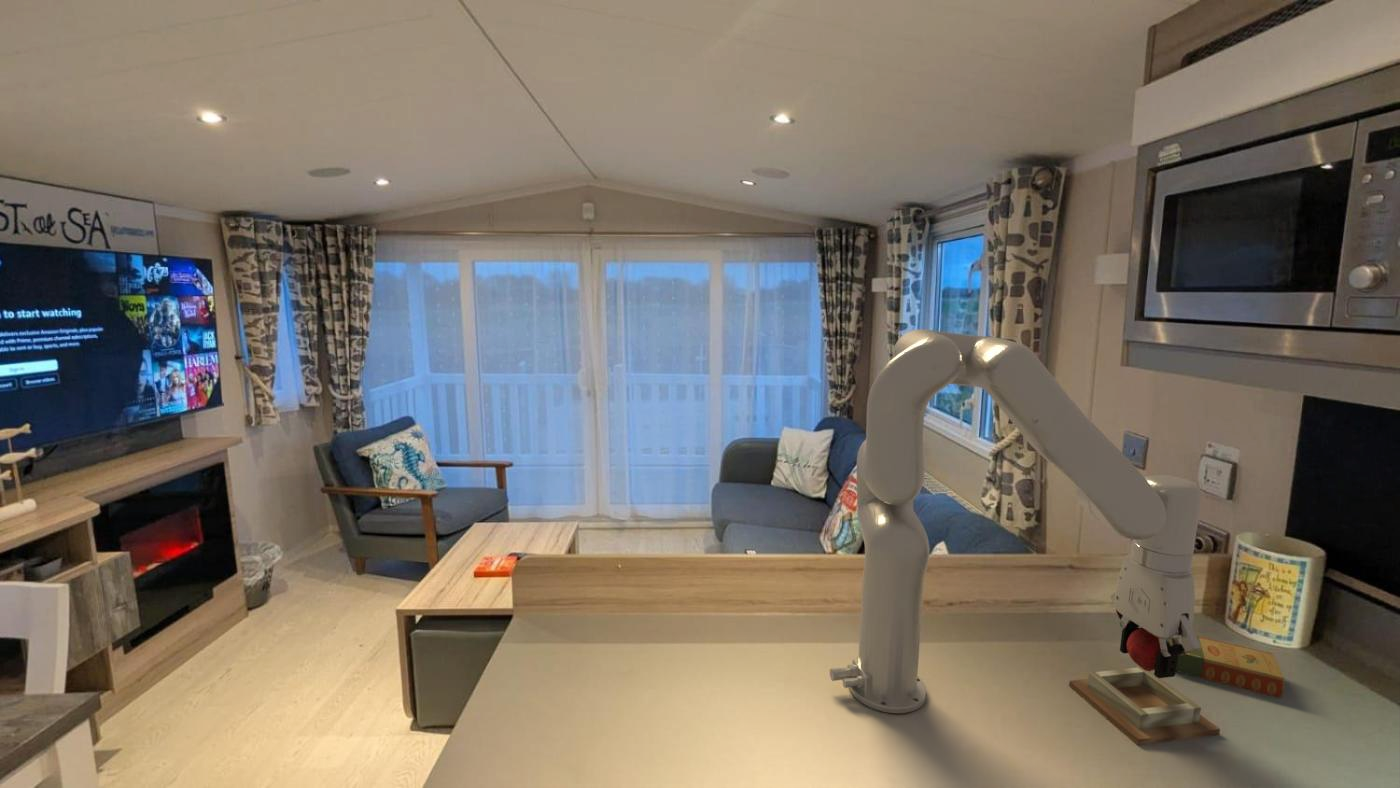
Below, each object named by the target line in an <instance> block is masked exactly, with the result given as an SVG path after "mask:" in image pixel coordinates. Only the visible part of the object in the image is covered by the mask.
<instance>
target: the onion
mask: <svg viewBox="0 0 1400 788" xmlns="http://www.w3.org/2000/svg"><path fill="white" fill-rule="evenodd" d="M1138 628H1139V629H1137V630H1135V631H1133V632H1132V633H1131V635H1130V636H1129V638H1128V640H1127V650H1128V653H1127V654H1128V655H1129V656H1130V658H1131V660H1132V661H1133V662H1134V663H1135V664H1136V665H1137V666H1139V667H1141V668H1143V669H1144V670H1146V671H1150V672H1152V671H1155V664H1156V656H1157V653H1159V652H1161V648H1160V642H1159V638H1158V637H1156V636H1154V635H1153V634H1151V633H1149V632H1148V631H1146V630H1145V629H1143V628H1142V627H1138ZM1169 645H1170V646H1171V644H1170V642H1169Z"/></svg>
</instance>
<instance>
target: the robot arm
mask: <svg viewBox="0 0 1400 788" xmlns="http://www.w3.org/2000/svg"><path fill="white" fill-rule="evenodd" d="M950 385H956V386H967V387H977V388H981V389H982V390H984V391H985V392H986V393H987V394H988V395H989V396H990V398H991V399H992V401H994V402H995V404H996V405H997V406H998V408H999V409H1000V410H1001V411H1002V412H1003V413H1004V414H1005V415H1006V417H1007V418H1008V419H1009V421H1010V422H1012V424H1013V425H1014V426H1015V428H1016V429H1017V430H1018V432H1019V433H1020V434H1021V435H1022V436H1023V438H1024V439H1026V442H1028V444H1029V445H1030V446H1031V447H1032V448H1033V449H1034V450H1035V451H1036V452H1037V453H1038V454H1040V456H1041V457H1042V458H1043V459H1045V460H1046V461H1047V462H1048V463H1050V464H1051V465H1052V466H1053V467H1055V468H1057V469H1058V470H1059V471H1060V472H1062V473H1063V474H1064V475H1065V476H1066V477H1067V478H1068V479H1069V480H1071V482H1072V483H1073V484H1075V486H1076V487H1075V496H1076V499H1077V501H1078V503H1079V504H1080V506H1081V507H1082V508H1083V509H1084V510H1085V511H1086V512H1088V513H1089V514H1090V515H1092V516H1093V517H1094V518H1096V519H1097V520H1098V521H1100V522H1101V523H1103V524H1104V525H1105V526H1106V527H1107V528H1109V529H1110V530H1112V531H1113V532H1114V533H1116V534H1117V535H1119V536H1121V537H1123V538H1125V539H1130V540H1129V542H1130V544H1131V551H1130V553H1127V555H1126V557H1125V558H1124V561H1123V562H1122V565H1121V568H1120V571H1119V575H1118V579H1117V582H1116V583H1117V584H1116V588H1115V592H1114V593H1112V594H1111V595H1110V599H1111V601H1112V603H1113V606H1114V608H1115V612H1116V613H1117V616H1118V618H1119V622H1118V624H1119V626H1120V628H1121V629H1122V630H1121V638H1120V647H1119V652H1120V653H1122V654H1129V653H1128V650H1127V640H1128V638H1129V636H1130V635H1131V633H1132V632H1133V631H1135V630H1137V629H1139V628H1143V629H1145V630H1146V631H1148V632H1149V633H1151V634H1153V635H1154V636H1156V637H1158V638H1159V642H1160V648H1161V652H1159V653H1157V656H1156V664H1155V670H1153V671H1154V672H1153V674H1155V676H1156V677H1157V678H1160V679H1164V678H1165V679H1166V678H1173V677H1175V676H1176V675H1177V671H1176V669H1177V662H1178V656H1179V655H1183V654H1185V653H1188V652H1190V651H1194V650H1198V649H1201V644H1200V642H1199V640H1198V638H1197V637H1196V636H1197V635H1196V633H1195V631H1194V629H1193V625H1194V616H1195V607H1196V606H1195V603H1196V602H1195V599H1196V597H1195V592H1196V591H1195V581H1194V575H1193V574H1192V564H1193V558H1194V552H1195V545H1196V537H1197V531H1198V523H1199V518H1200V510H1201V504H1202V493H1203V492H1202V490H1201V488H1200V486H1199V485H1198V484H1197V483H1195V481H1191V480H1189V479H1186V478H1183V477H1179V476H1175V475H1167V474H1155V475H1153V474H1152V475H1147V476H1146V475H1143V474H1142V473H1141V472H1140V471H1139V469H1138V468H1137V467H1136V466H1135V465H1134V464H1133V462H1132V461H1131V460H1129V458H1128V457H1127V456H1126V455H1125V454H1124V453H1123V452H1122V451H1121V450H1120V449H1119V448H1118V447H1117V446H1116V445H1115V444H1114V443H1113V442H1112V441H1111V440H1110V439H1109V438H1108V437H1107V436H1106V434H1104V433H1103V431H1102V430H1101V429H1100V428H1099V427H1098V426H1097V425H1096V424H1095V423H1094V422H1093V421H1092V420H1091V419H1090V418H1089V417H1088V416H1087V415H1085V412H1084V413H1083V411H1082V410H1081V409H1080V408H1079V407H1078V405H1077V404H1076V403H1075V401H1073V399H1072V398H1071V397H1070V396H1069V394H1068V393H1067V392H1066V391H1065V390H1064V388H1063V387H1062V386H1061V385H1060V384H1059V382H1058V381H1057V380H1056V379H1055V377H1054V376H1053V375H1052V374H1051V372H1050V371H1049V370H1048V369H1047V367H1046V366H1045V365H1044V364H1043V362H1042V361H1041V360H1040V359H1039V358H1038V357H1037V355H1036V354H1035V353H1034V352H1033V351H1032V350H1031V349H1030V348H1028V347H1027V346H1025V345H1023V344H1021V343H1019V342H1015V341H1012V340H1009V339H1005V338H1000V337H996V336H995V337H994V336H993V337H992V336H984V335H983V336H982V335H970V334H962V333H956V332H948V331H947V332H946V331H939V330H931V329H924V328H923V329H921V328H920V329H913V330H910V331H907V332H906V333H904V334H903V335H901V336H900V337H899V338H898V339H897V341H896V342H895V344H894V346H893V350H892V359H890V360H889V361H888V362H887V363H886V365H884V366H883V368H882V369H881V370H880V371H879V373H878V374H877V376H876V378H875V379H874V381H873V383H872V385H871V388H870V391H869V393H868V397H867V405H866V424H865V425H866V426H865V427H866V428H865V429H866V430H865V440H864V441H862V443H861V445H860V446H859V449H858V451H857V455H856V501H857V504H856V506H857V507H856V508H857V520H858V525H859V529H860V532H861V537H862V540H863V543H864V562H863V563H864V565H863V572H862V579H861V581H862V582H861V594H860V595H861V597H860V600H861V601H860V622H859V641H858V657H852V664H848V665H847V667H836V668H835V667H834V668H832V667H831V668H830V669H829V676H830V679H831V681H833V682H835V681H842V686H843V688H844V689H846V688H847V689H849V691H850V693H851V695H852V696H853V697H854V698H855V699H856V700H858V701H859V702H860V703H861V704H863V705H865V706H867V707H869V708H870V709H874V710H875V711H878V712H879V711H880V712H883V713H889V714H905V713H906V714H907V713H911V712H914V711H917V710H918V709H920V708H921V707H923V705H924V704H925V702H926V699H927V687H926V685H925V683H924V681H923V680H922V679H921V677H919V675H918V673H919V671H918V670H919V656H920V655H919V654H920V645H921V644H920V642H921V640H920V639H921V626H922V614H923V613H922V612H923V599H924V597H923V595H924V586H925V579H926V574H927V568H928V566H929V560H930V559H929V558H930V541H929V538H928V534H927V532H926V529H925V527H924V525H923V524H922V521H921V520H920V518H919V516H918V515H917V514H916V512H915V511H914V500H915V498H917V496H918V495H919V494H920V493H921V490H922V488H923V485H924V479H925V467H924V466H925V465H924V423H925V422H924V421H925V413H926V409H927V406H928V405H929V402H930V401H931V400H932V399H933V397H935V395H936V394H938V393H939V392H940V391H942V390H943V389H945V388H946V387H948V386H950ZM1181 636H1182V638H1183V643H1182V639H1181ZM1171 638H1172V643H1173V646H1170V645H1169V639H1171Z"/></svg>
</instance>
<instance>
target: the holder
mask: <svg viewBox="0 0 1400 788" xmlns="http://www.w3.org/2000/svg"><path fill="white" fill-rule="evenodd" d="M1087 676H1088V677H1087V678H1083V679H1082V678H1081V679H1073V680H1069V683H1068V686H1069V687H1070V689H1072V690H1073V691H1074V692H1075V691H1076V692H1075V693H1076V694H1078V695H1079V696H1080V695H1081V696H1082V697H1083V698H1084V699H1083V698H1082V697H1081V696H1080V697H1081V698H1082V699H1083V700H1085V701H1086V702H1087V703H1088V702H1089V703H1088V704H1089V705H1090V704H1091V705H1090V706H1092V708H1094V709H1095V710H1096V709H1097V710H1098V711H1099V713H1100V714H1101V715H1102V716H1103V715H1104V716H1103V717H1104V718H1106V719H1107V720H1108V721H1109V722H1110V723H1111V724H1112V725H1113V726H1114V727H1116V728H1117V729H1118V730H1119V731H1120V732H1121V733H1123V734H1124V735H1125V736H1126V737H1128V738H1129V740H1131V741H1132V742H1133V743H1134V744H1135V745H1137V746H1144V745H1150V744H1159V743H1167V741H1168V742H1174V741H1173V740H1176V741H1182V739H1183V740H1190V739H1189V738H1191V739H1196V738H1197V737H1199V738H1205V737H1206V736H1207V737H1213V736H1220V733H1221V728H1219V726H1217V725H1215V724H1214V723H1213V722H1211V721H1209V719H1207V718H1205V716H1203V715H1201V710H1202V707H1201V706H1199V704H1197V703H1195V702H1194V701H1192V700H1191V699H1190V698H1188V697H1187V696H1186V695H1184V694H1183V693H1181V692H1180V691H1179V690H1178V689H1176V688H1175V687H1173V686H1172V685H1171V684H1169V683H1168V682H1166V681H1164V680H1163V678H1157V677H1156V676H1155V674H1154V672H1152V671H1146V670H1144V669H1143V668H1141V667H1140V666H1139V667H1131V668H1123V669H1120V668H1119V669H1112V670H1104V671H1093V672H1091V671H1090V672H1088V675H1087ZM1097 710H1096V711H1097ZM1098 711H1097V712H1098ZM1197 739H1198V738H1197Z"/></svg>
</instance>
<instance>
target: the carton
mask: <svg viewBox="0 0 1400 788" xmlns="http://www.w3.org/2000/svg"><path fill="white" fill-rule="evenodd" d="M1196 637H1197V638H1198V640H1199V642H1200V644H1201V649H1198V650H1194V651H1190V652H1188V653H1185V654H1183V655H1179V656H1178V662H1177V669H1176V672H1177V671H1180V672H1179V673H1181V672H1183V673H1182V674H1186V675H1189V676H1193V677H1198V678H1202V679H1205V680H1208V681H1213V682H1217V683H1220V684H1224V685H1228V686H1231V687H1235V688H1240V689H1243V690H1247V691H1251V692H1254V693H1258V694H1262V695H1266V696H1270V697H1273V698H1277V699H1282V695H1283V691H1284V690H1283V689H1284V683H1285V682H1284V680H1285V678H1284V675H1283V673H1282V670H1281V668H1280V666H1279V663H1278V662H1277V660H1276V657H1275V655H1274V653H1272V652H1268V651H1263V650H1259V649H1255V648H1251V647H1246V646H1242V645H1238V644H1232V643H1228V642H1222V641H1219V640H1215V639H1210V638H1206V637H1201V636H1197V635H1196ZM1181 639H1182V643H1183V638H1182V636H1181ZM1169 642H1170V644H1171V646H1173V643H1172V638H1171V639H1169Z"/></svg>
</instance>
